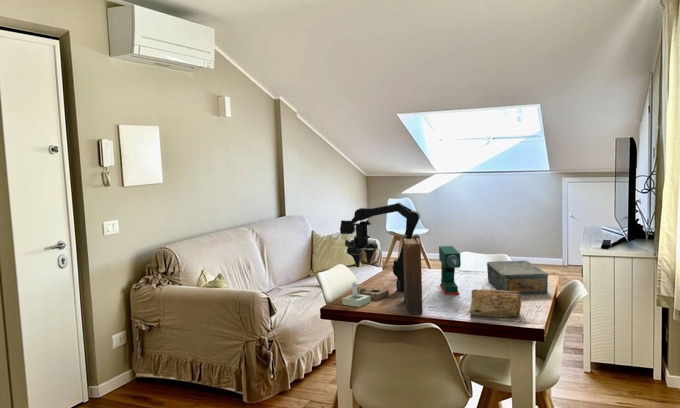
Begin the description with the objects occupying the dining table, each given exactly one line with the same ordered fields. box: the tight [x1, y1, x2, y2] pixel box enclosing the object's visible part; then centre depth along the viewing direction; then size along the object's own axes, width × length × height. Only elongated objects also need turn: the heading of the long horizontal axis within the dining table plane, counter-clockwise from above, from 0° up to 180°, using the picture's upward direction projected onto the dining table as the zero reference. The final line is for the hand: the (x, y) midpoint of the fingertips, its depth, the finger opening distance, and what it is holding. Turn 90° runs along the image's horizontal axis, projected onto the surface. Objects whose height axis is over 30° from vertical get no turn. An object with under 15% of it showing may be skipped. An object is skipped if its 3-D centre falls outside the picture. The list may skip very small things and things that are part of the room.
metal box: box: [486, 260, 549, 296], centre depth 263 cm, size 21×32×10 cm, turn 178°
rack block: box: [341, 293, 371, 308], centre depth 244 cm, size 9×9×3 cm
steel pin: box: [351, 282, 360, 299], centre depth 244 cm, size 3×3×9 cm
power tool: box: [438, 245, 462, 296], centre depth 254 cm, size 32×7×20 cm, turn 177°
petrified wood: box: [469, 288, 522, 318], centre depth 218 cm, size 19×13×10 cm
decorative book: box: [401, 233, 424, 315], centre depth 233 cm, size 23×7×30 cm, turn 176°
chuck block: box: [362, 287, 390, 301], centre depth 253 cm, size 9×9×3 cm
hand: (363, 265), depth 267 cm, fingers open, 9 cm apart
